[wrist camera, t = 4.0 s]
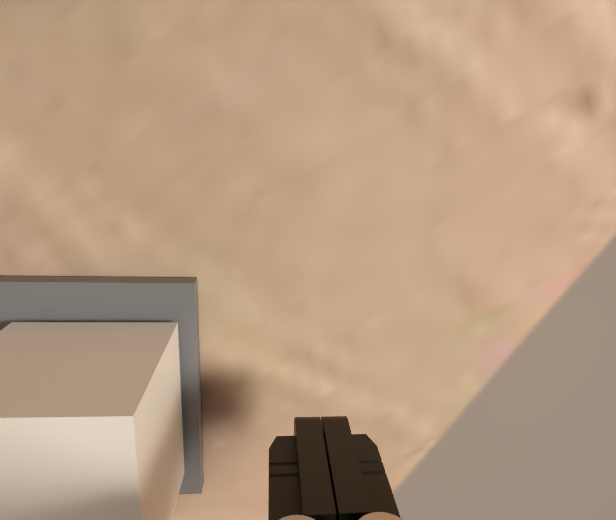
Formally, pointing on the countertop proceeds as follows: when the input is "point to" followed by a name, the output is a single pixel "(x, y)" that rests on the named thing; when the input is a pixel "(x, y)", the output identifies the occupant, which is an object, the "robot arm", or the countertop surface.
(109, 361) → the block
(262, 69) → the countertop surface
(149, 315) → the frame
